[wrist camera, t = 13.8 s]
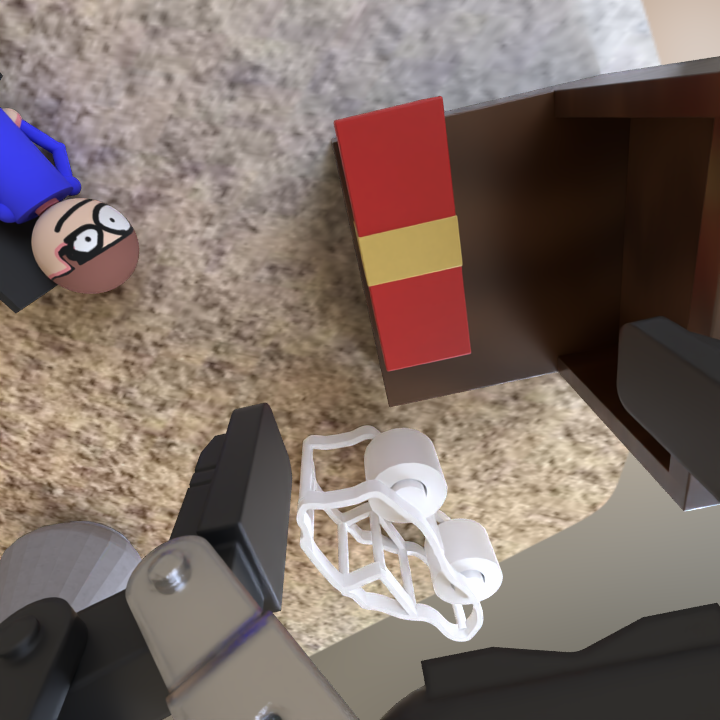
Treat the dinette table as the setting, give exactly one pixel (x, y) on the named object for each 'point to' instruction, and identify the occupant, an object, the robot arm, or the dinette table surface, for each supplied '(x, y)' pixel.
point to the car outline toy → (401, 505)
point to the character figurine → (53, 223)
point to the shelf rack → (581, 238)
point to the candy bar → (407, 229)
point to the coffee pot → (65, 566)
